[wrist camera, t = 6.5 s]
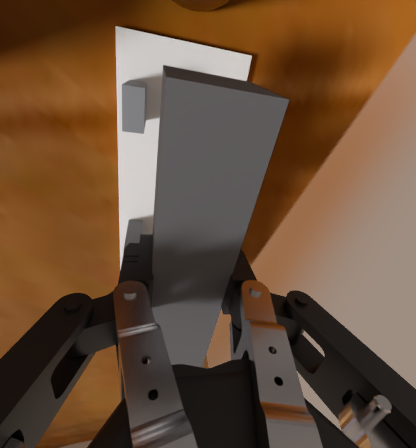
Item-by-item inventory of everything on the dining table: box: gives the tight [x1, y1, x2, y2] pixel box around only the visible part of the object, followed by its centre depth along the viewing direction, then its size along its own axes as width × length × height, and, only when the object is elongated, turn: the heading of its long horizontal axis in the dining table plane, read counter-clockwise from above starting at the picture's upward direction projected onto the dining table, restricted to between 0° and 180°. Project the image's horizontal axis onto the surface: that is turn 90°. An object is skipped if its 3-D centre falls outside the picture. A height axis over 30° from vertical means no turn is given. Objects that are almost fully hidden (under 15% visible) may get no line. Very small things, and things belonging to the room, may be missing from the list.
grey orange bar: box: [152, 65, 289, 368], centre depth 14 cm, size 20×4×4 cm, turn 170°
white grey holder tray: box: [115, 26, 252, 271], centre depth 21 cm, size 24×9×6 cm, turn 171°
